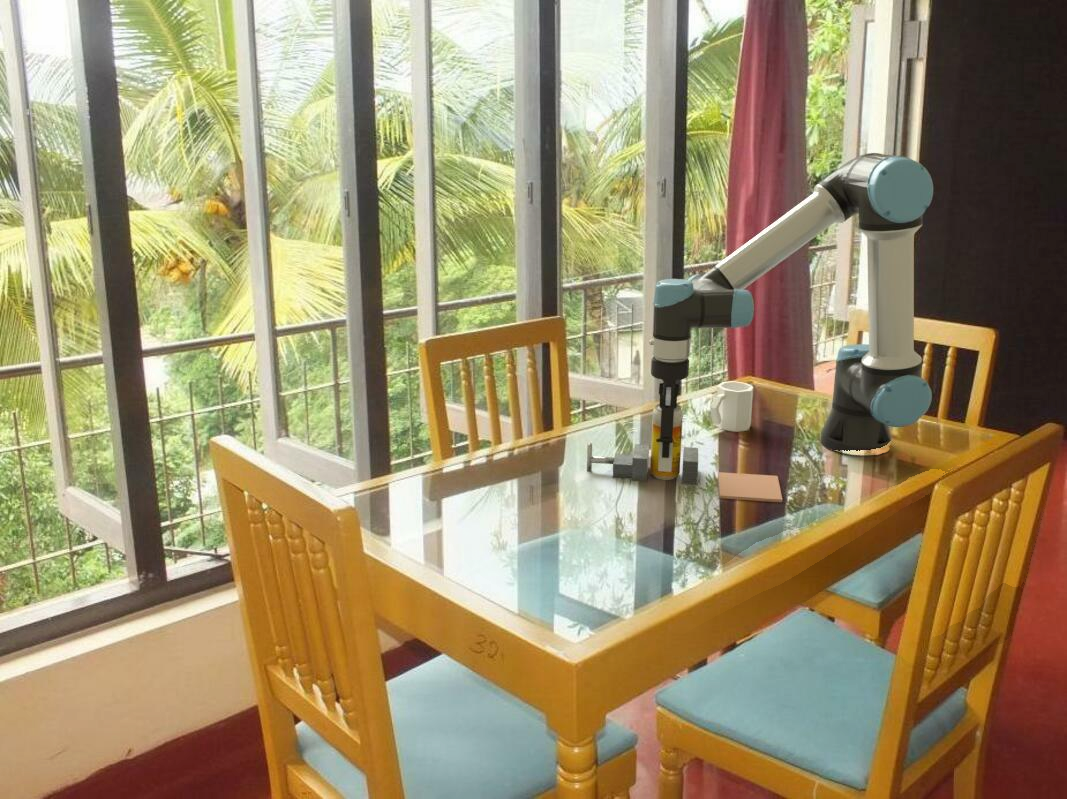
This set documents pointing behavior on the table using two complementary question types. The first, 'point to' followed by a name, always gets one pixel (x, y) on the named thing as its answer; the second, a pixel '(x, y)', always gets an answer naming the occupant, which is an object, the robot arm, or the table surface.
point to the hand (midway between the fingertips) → (665, 464)
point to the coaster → (749, 487)
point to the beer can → (676, 444)
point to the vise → (644, 464)
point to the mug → (732, 406)
